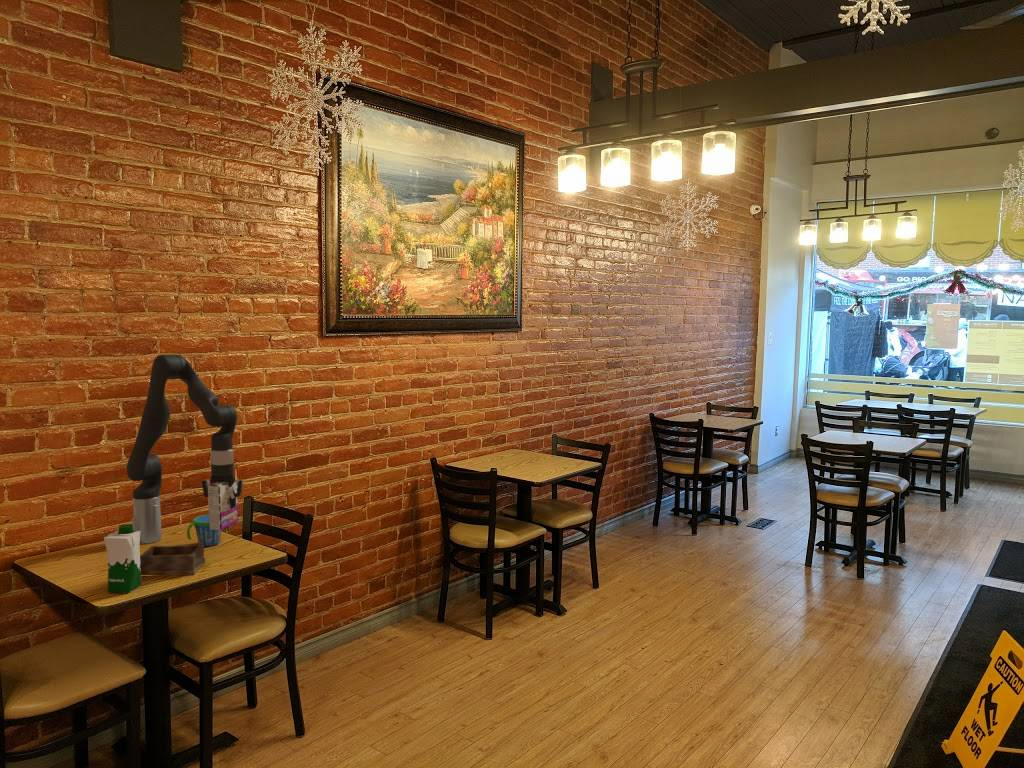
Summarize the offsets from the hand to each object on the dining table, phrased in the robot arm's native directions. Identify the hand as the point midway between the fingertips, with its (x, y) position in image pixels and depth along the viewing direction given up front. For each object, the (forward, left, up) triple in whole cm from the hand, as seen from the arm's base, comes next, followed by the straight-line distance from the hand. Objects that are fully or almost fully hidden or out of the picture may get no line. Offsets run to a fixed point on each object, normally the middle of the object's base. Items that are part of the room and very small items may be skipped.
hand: (223, 508), depth 259 cm
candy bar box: (0, 0, -7) cm, 7 cm away
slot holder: (-15, -9, -19) cm, 26 cm away
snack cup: (-10, +18, -19) cm, 28 cm away
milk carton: (-24, -26, -19) cm, 40 cm away
